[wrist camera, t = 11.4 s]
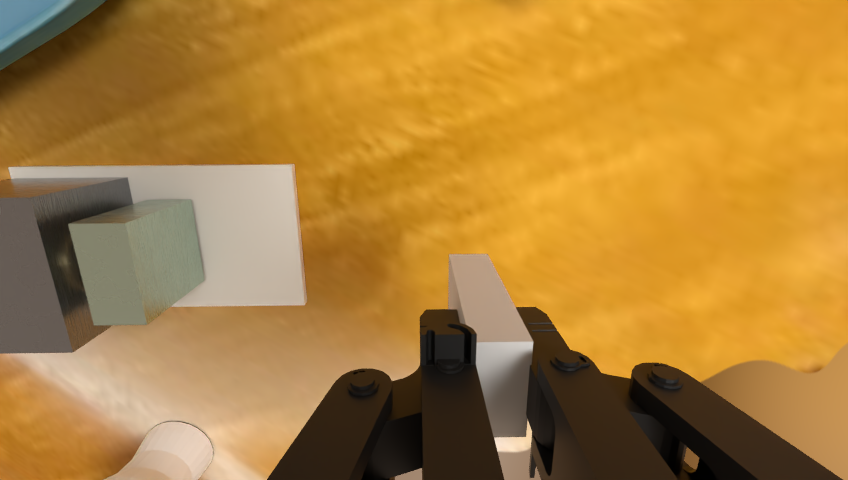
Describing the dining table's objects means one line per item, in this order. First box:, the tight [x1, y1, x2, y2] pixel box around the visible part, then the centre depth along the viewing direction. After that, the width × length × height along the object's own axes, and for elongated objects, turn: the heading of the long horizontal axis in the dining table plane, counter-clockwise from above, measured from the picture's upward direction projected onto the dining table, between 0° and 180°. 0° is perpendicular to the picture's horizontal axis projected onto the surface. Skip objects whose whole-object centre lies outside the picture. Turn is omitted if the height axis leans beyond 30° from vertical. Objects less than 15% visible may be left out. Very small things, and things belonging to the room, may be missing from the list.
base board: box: [8, 164, 307, 307], centre depth 40 cm, size 26×14×1 cm, turn 90°
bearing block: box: [0, 177, 133, 353], centre depth 35 cm, size 10×12×10 cm
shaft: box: [68, 199, 204, 325], centre depth 35 cm, size 18×8×9 cm, turn 90°
